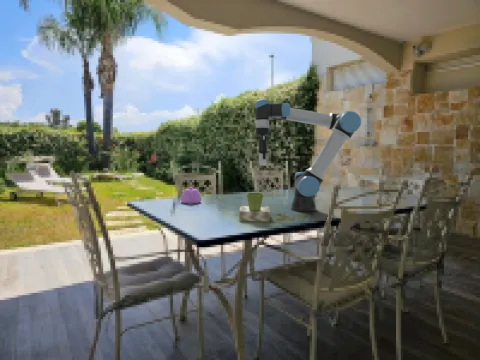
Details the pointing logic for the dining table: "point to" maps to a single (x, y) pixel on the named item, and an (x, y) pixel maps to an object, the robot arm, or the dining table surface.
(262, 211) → the birch pedestal block
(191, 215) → the dining table surface
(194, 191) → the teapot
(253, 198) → the plant pot
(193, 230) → the dining table surface
